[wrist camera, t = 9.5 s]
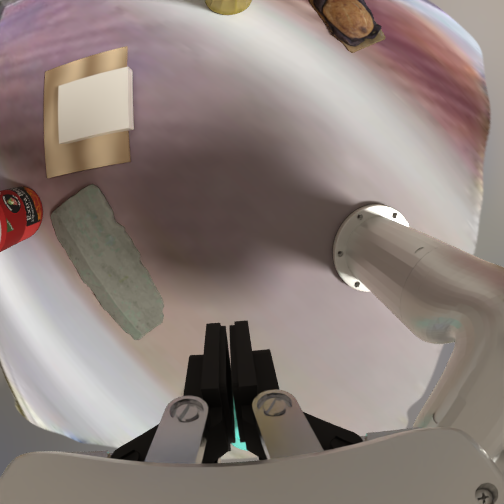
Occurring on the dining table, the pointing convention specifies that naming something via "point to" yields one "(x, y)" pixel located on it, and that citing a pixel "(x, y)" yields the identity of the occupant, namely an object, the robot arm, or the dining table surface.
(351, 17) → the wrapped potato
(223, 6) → the vase
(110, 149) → the mat
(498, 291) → the robot arm
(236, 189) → the dining table surface
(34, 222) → the canned food
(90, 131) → the tile
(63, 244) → the stone slab
